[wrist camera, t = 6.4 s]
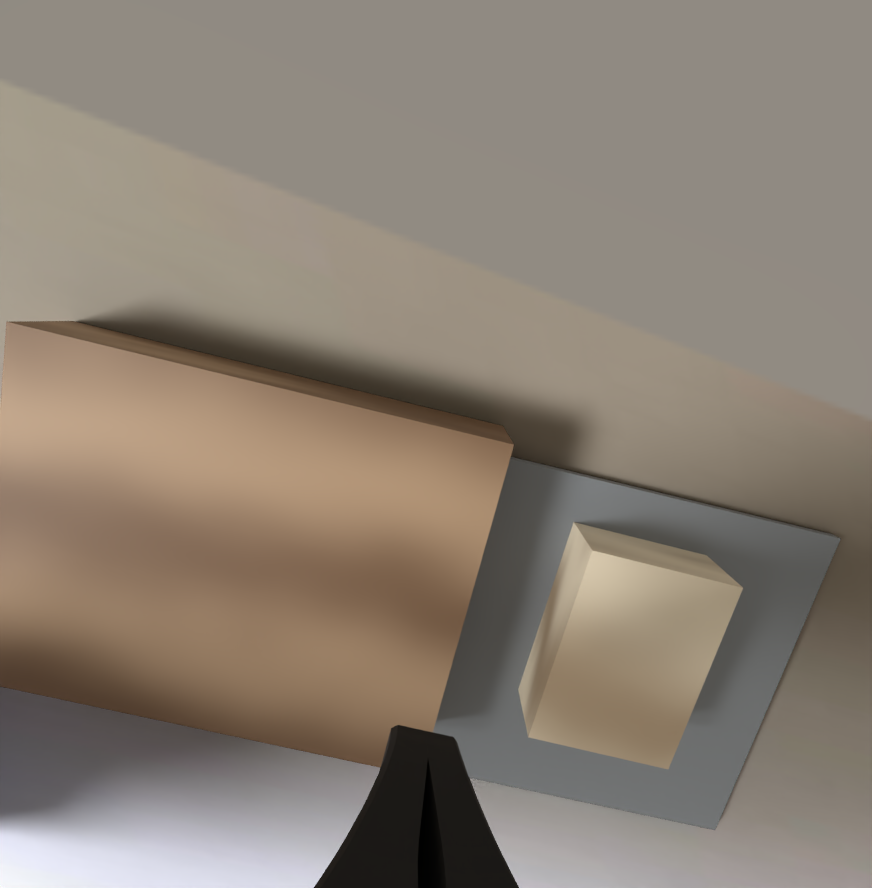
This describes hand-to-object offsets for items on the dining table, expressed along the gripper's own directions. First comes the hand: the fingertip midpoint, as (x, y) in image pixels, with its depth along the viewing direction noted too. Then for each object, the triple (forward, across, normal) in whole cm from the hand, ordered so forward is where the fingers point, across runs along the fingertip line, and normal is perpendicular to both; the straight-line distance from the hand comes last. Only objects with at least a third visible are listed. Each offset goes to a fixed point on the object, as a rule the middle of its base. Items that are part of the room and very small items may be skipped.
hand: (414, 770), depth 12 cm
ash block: (+6, -7, 0) cm, 10 cm away
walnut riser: (+9, +6, 0) cm, 11 cm away
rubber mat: (+9, -8, +1) cm, 12 cm away
